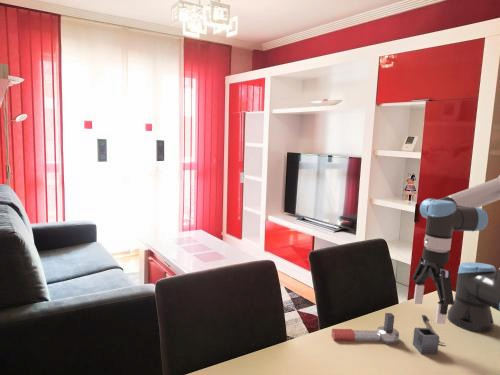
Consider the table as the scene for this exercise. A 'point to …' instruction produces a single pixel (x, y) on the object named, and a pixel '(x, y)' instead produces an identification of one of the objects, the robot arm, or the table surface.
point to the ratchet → (370, 333)
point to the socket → (426, 340)
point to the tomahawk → (429, 326)
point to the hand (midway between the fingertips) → (428, 312)
